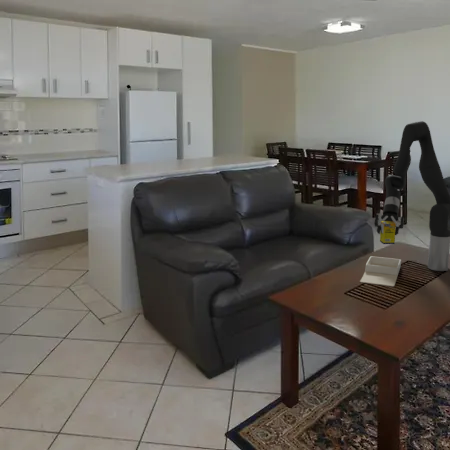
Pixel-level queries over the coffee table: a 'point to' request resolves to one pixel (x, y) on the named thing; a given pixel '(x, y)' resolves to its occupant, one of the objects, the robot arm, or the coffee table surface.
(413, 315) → the coffee table surface
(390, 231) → the supplement box
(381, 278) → the box
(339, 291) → the coffee table surface
